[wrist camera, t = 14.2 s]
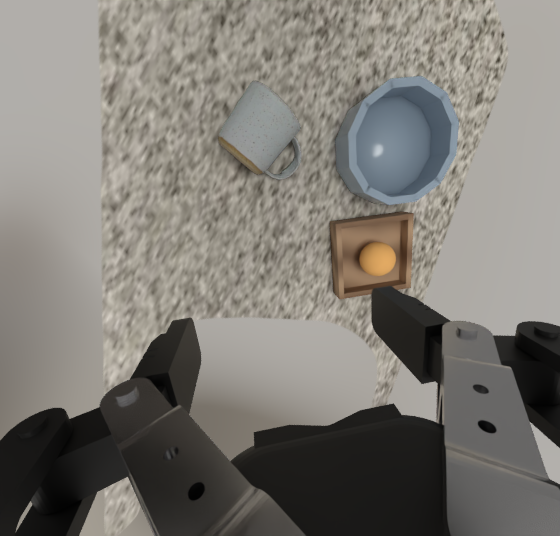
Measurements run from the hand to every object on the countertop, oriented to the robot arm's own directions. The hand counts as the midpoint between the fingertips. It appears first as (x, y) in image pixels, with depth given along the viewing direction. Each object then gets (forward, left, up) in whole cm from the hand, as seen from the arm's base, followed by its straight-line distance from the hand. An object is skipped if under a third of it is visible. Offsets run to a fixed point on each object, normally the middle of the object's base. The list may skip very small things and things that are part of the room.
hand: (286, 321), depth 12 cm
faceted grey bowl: (-8, +21, -30) cm, 37 cm away
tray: (+7, +18, -30) cm, 36 cm away
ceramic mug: (-11, +3, -30) cm, 33 cm away
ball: (+7, +18, -26) cm, 33 cm away
